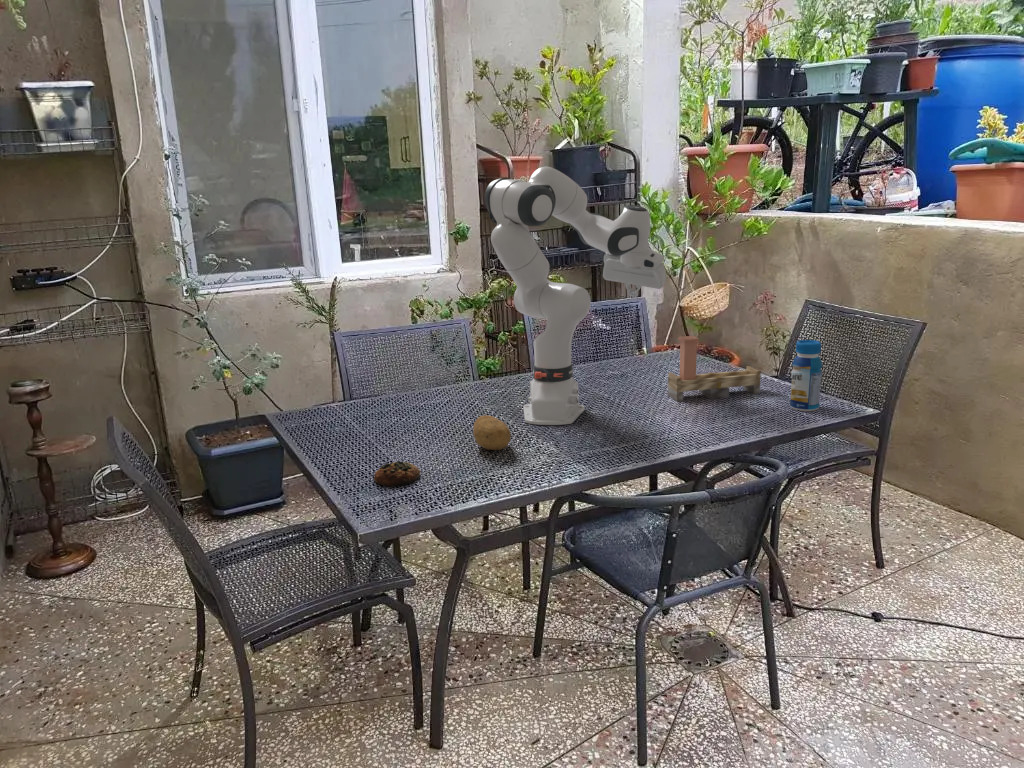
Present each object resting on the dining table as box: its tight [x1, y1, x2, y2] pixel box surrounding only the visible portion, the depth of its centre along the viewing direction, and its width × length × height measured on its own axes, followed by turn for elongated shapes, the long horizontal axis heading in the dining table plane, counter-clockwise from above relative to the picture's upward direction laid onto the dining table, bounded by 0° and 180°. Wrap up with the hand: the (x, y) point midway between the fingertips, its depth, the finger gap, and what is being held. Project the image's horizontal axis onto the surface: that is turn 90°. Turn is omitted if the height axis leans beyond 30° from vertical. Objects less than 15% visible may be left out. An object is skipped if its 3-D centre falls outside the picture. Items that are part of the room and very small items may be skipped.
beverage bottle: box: [789, 339, 823, 412], centre depth 218 cm, size 8×8×20 cm
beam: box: [667, 365, 762, 402], centre depth 236 cm, size 28×9×7 cm, turn 101°
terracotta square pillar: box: [677, 335, 700, 380], centre depth 232 cm, size 5×5×14 cm
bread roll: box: [373, 460, 421, 488], centre depth 179 cm, size 11×11×5 cm
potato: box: [472, 414, 512, 451], centre depth 195 cm, size 10×14×8 cm
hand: (633, 295), depth 241 cm, fingers closed
